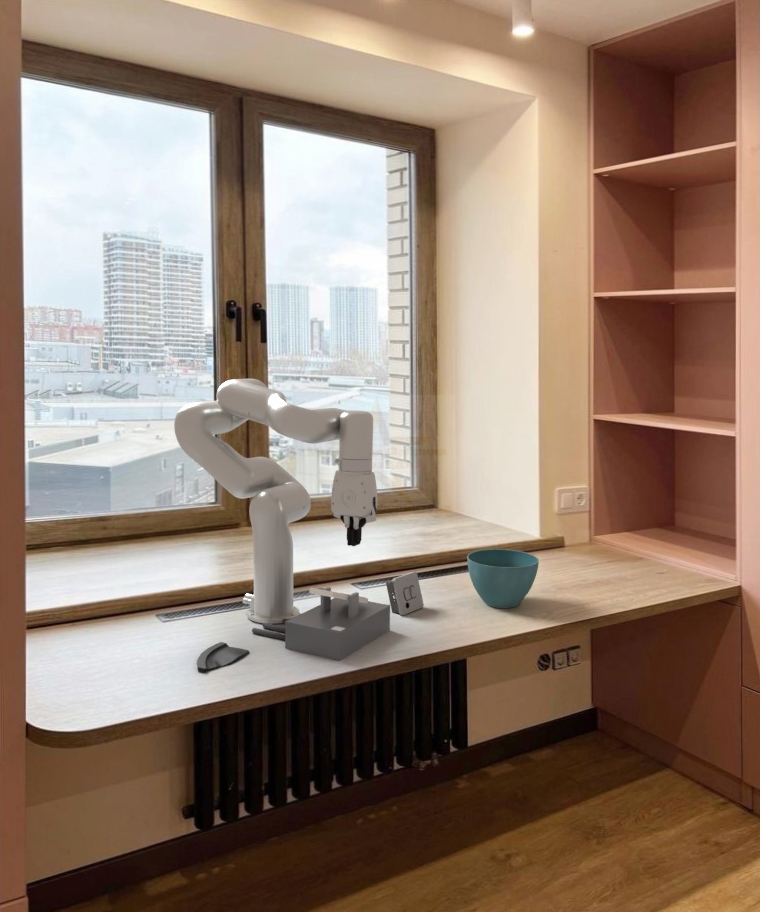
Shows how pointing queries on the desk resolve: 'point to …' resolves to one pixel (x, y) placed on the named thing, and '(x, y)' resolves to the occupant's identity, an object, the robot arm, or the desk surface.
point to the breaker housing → (337, 627)
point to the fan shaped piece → (219, 657)
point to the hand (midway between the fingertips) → (353, 544)
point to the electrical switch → (405, 593)
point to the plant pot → (502, 575)
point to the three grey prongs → (272, 627)
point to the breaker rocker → (335, 595)
